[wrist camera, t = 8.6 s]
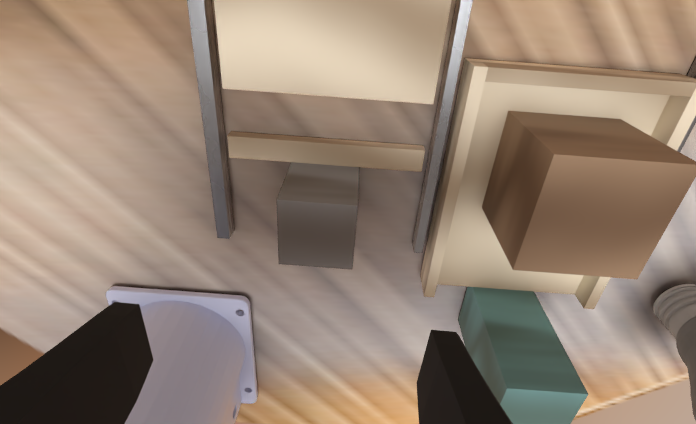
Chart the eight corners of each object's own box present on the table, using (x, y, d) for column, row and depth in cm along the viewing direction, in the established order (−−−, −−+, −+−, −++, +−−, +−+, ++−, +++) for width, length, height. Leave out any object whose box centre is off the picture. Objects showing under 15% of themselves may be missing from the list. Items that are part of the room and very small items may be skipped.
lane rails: (610, 257, 20) (618, 267, 20) (222, 228, 20) (217, 237, 20) (802, -122, 12) (827, -127, 12) (175, -169, 12) (164, -177, 12)
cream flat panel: (410, 221, 20) (419, 274, 16) (238, 208, 20) (211, 258, 16) (471, -136, 13) (511, -177, 9) (204, -156, 13) (144, -205, 9)
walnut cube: (579, 214, 18) (636, 279, 14) (481, 207, 18) (512, 270, 14) (620, 118, 16) (702, 165, 12) (508, 110, 16) (554, 154, 12)
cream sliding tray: (560, 327, 23) (623, 441, 17) (411, 316, 23) (427, 427, 17) (681, 74, 15) (859, 130, 10) (464, 58, 15) (520, 105, 10)
